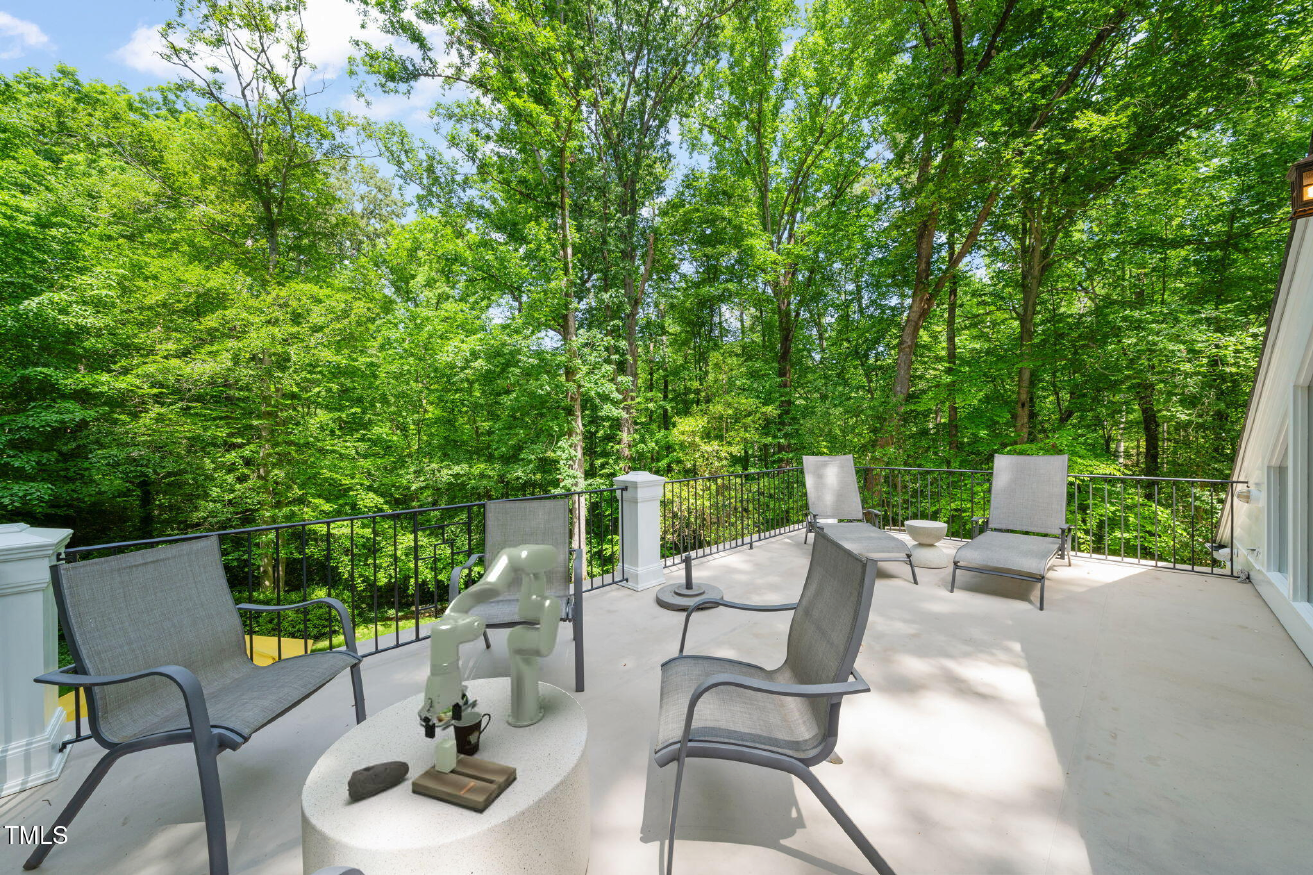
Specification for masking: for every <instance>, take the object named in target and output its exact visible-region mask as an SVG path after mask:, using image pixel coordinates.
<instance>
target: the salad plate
mask: <svg viewBox="0 0 1313 875" xmlns="http://www.w3.org/2000/svg"><path fill="white" fill-rule="evenodd" d="M463 702H464V704H463V705H462V714H463V713H466V712H471V711H472V708H473V707H474V705H475V704H476V703H477V702H478V699H474V700H472V699H470V698H469V697H468V695H467V694H466V697H465V699H464V701H463ZM432 711H434V710H432ZM426 713H427V712H426ZM432 715H433V714H431V715H430V718H431V717H432ZM436 718H437V719H438V721H437V722H434V723H435V724H436V725H435V728H439V727H440V728H446V727H448V726H451V725H453V720H452V706H451V707H449V708H447V709H446V710H444V711H442V712H441V713H439V714H437V716H436ZM419 722H420V724H421V725H422V726H424V727H425V723H423V722H422V721H421V720H420V719H419Z"/></svg>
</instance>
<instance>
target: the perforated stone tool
mask: <svg viewBox="0 0 1313 875" xmlns="http://www.w3.org/2000/svg"><path fill="white" fill-rule="evenodd" d="M409 773H410V766H409V764H408V763H407V762H406V761H401V760H393V761H392V760H391V761H387V762H386V761H385V762H381V763H375V764H372V765H368V766H365V767H363V768H361V769H357V770H354V771H352V773H351V775H350V778H349V780H348V781H347V787H348V789H347V791H348V797H349V799H350V800H352V801H354V800H358V799H362V798H366V797H370V796H372V795H375V794H377V793H379V792H380V793H381V792H382V791H384V790H386V789H388V788H391V787H393V786H395V785H397V784H398V783H400V782H401V781H403V780H404V779H405V778H406V777H407V775H408V774H409Z"/></svg>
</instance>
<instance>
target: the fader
mask: <svg viewBox="0 0 1313 875" xmlns="http://www.w3.org/2000/svg"><path fill="white" fill-rule="evenodd" d="M434 751H435V752H434V756H435V757H434V762H435V763H434V764H435V770H438V771H441V772H445V773H450V771H451V770H452V769H453V768H455V767H456V753H457V750H456V741H455V739H454V740H453V739H451V738H450V739H449V738H445V737H443V738H442V739H441V740H439V741H438V742H436V743H435V744H434Z"/></svg>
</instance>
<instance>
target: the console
mask: <svg viewBox="0 0 1313 875" xmlns="http://www.w3.org/2000/svg"><path fill="white" fill-rule="evenodd" d="M516 780H517V767H515V766H514V767H513V766H509V765H507V764H501V763H498V762H493V761H490V760H486V759H482V758H478V757H474V756H466V755H462V754H458V753H457V752H456V767H455V768H453V769H452V770H451V771H450V773H445V772H441V771H438V770H435V763H434V764H433V765H431V766H430V767H429V768H428V769H426V770H425V771H424V772H423V773H421V774H420V775H418V776H417V777H416V778H415V779H413V780H412V781H411V793H412V794H415V795H418V796H422V797H425V798H428V799H430V800H431V799H432V800H434V801H438V802H442V803H445V804H448V805H452V806H456V807H458V808H461V809H464V810H467V811H472V812H474V813H478V814H483V813H484V812H485V811H487V809H488V808H489V807H490V806H492V804H493V803H494V802H495V801H496V800H497V799H498V798H499V797H500V796H501V795H502V794H503V793H504V792H505V791H506V790H507V789H508V788H509V787H510V786H511V785H512V784H513V783H514V782H515V781H516Z"/></svg>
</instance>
